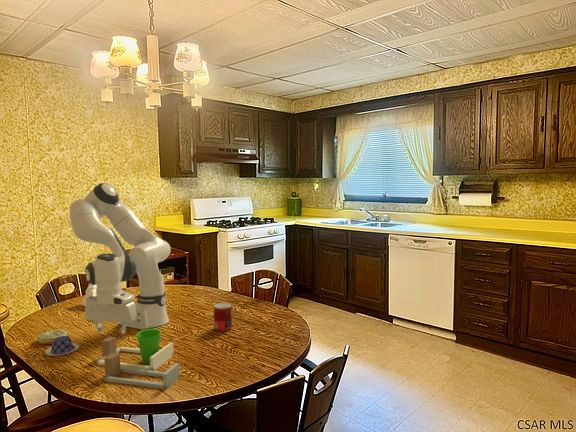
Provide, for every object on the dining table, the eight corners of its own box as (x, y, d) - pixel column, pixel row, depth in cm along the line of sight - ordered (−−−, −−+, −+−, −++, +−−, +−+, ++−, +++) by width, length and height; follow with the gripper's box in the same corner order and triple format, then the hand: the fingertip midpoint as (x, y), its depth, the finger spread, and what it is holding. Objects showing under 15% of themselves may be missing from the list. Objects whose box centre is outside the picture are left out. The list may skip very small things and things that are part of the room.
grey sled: (101, 380, 134) (100, 360, 134) (117, 369, 142) (116, 350, 141) (166, 389, 128) (165, 368, 127) (179, 377, 136) (178, 357, 135)
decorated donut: (70, 340, 170) (70, 331, 169) (42, 348, 162) (42, 339, 162) (62, 334, 177) (61, 326, 176) (34, 341, 169) (34, 332, 169)
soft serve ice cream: (75, 311, 213) (70, 285, 214) (95, 305, 227) (89, 281, 228) (95, 306, 210) (89, 280, 211) (113, 300, 225) (108, 276, 226)
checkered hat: (60, 359, 152) (59, 346, 151) (37, 354, 156) (36, 342, 155) (86, 347, 163) (85, 334, 162) (64, 343, 167) (63, 331, 167)
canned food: (228, 332, 176) (228, 308, 175) (211, 331, 178) (211, 307, 177) (234, 326, 183) (233, 303, 182) (218, 325, 185) (217, 302, 184)
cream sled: (93, 364, 146) (92, 345, 146) (118, 349, 159) (117, 332, 159) (153, 371, 140) (152, 352, 140) (173, 355, 153) (172, 337, 152)
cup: (140, 357, 152) (139, 329, 151) (165, 355, 153) (163, 327, 152) (134, 368, 143) (132, 338, 142) (160, 366, 144) (158, 337, 143)
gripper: (79, 297, 150) (82, 333, 151) (127, 300, 145) (129, 337, 146) (91, 293, 156) (93, 327, 157) (137, 295, 151) (139, 330, 153)
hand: (111, 332), depth 152 cm, fingers open, 8 cm apart
